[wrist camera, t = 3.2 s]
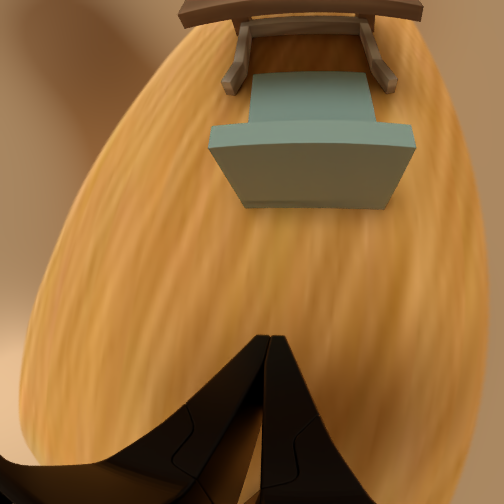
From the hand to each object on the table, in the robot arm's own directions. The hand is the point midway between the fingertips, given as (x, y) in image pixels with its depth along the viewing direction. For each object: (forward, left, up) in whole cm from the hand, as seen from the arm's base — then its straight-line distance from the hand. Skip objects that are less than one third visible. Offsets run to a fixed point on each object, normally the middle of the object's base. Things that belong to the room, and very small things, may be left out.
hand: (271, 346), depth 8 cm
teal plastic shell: (+8, -14, -13) cm, 21 cm away
